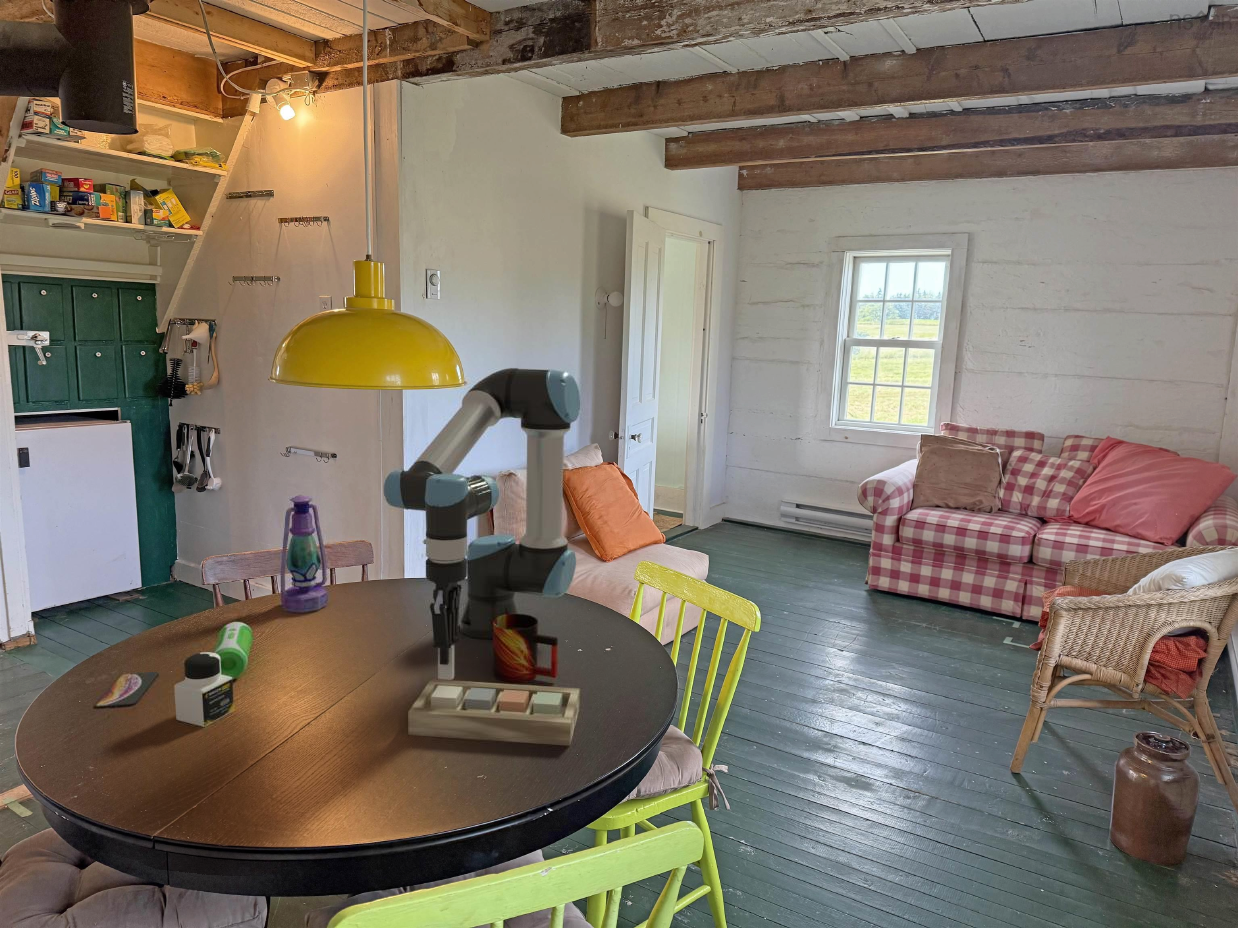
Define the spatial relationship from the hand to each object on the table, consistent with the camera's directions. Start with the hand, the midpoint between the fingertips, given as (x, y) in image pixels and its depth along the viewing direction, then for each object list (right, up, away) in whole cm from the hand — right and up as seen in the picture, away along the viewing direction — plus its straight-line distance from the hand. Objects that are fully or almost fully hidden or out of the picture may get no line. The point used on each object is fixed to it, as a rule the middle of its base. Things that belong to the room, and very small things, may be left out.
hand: (446, 677), depth 154 cm
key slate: (+6, -5, +1) cm, 8 cm away
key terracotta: (+13, -5, 0) cm, 14 cm away
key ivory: (0, -5, +1) cm, 5 cm away
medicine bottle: (-46, -7, 0) cm, 46 cm away
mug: (+12, -5, +23) cm, 26 cm away
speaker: (-51, -3, +22) cm, 56 cm away
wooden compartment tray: (+10, -9, +1) cm, 13 cm away
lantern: (-49, +3, +58) cm, 77 cm away
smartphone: (-66, -5, +9) cm, 67 cm away
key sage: (+19, -6, 0) cm, 20 cm away
